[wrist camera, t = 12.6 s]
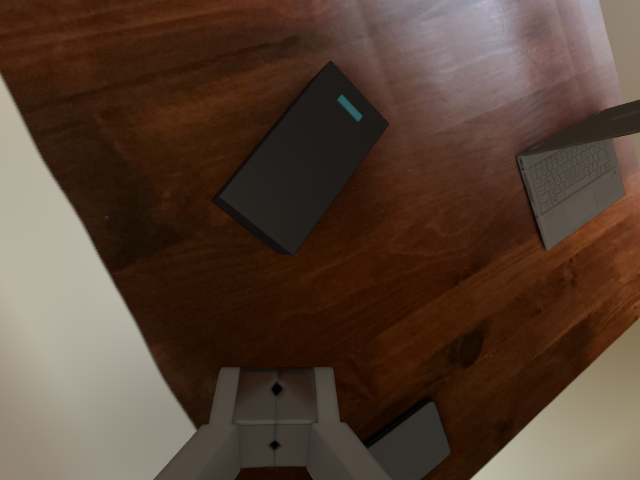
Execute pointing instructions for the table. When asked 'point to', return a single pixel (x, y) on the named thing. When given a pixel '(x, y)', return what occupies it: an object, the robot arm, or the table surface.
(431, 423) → the smartphone
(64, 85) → the table surface
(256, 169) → the black power bank
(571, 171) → the laptop
